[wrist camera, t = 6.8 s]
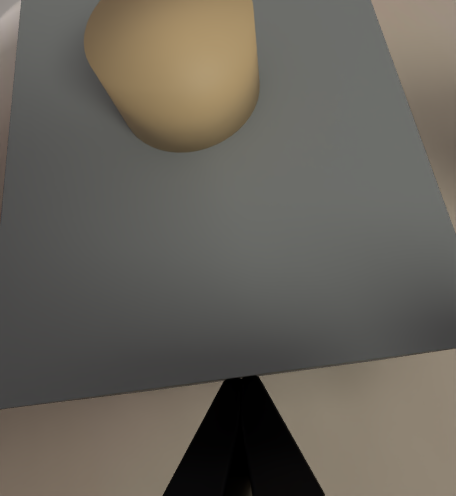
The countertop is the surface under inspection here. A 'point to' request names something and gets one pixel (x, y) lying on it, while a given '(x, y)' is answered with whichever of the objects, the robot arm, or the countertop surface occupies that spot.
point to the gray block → (212, 199)
